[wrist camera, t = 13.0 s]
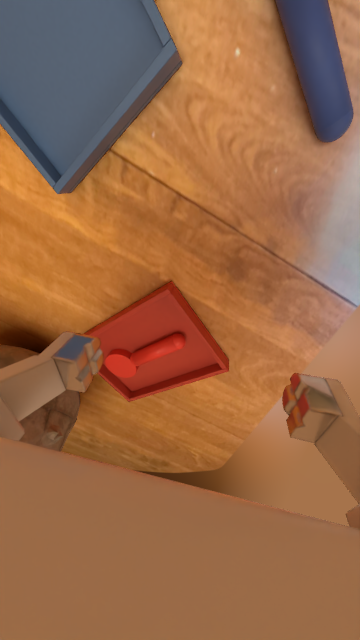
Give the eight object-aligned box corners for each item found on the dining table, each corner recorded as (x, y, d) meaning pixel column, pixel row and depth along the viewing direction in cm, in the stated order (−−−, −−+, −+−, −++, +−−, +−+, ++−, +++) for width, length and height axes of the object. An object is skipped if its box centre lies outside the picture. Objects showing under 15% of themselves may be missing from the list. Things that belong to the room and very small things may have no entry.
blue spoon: (373, 112, 14) (392, 104, 12) (296, 164, 16) (303, 163, 14) (299, -252, 9) (315, -350, 7) (201, -103, 11) (196, -152, 9)
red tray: (228, 360, 28) (229, 371, 27) (133, 391, 36) (128, 402, 35) (171, 280, 23) (167, 288, 22) (76, 338, 32) (67, 347, 30)
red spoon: (174, 319, 26) (171, 329, 24) (195, 346, 27) (193, 357, 26) (102, 354, 32) (95, 364, 30) (123, 375, 34) (118, 385, 32)
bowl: (-36, 343, 38) (-161, 422, 26) (24, 290, 28) (-132, 378, 16) (58, 413, 46) (-3, 498, 34) (128, 392, 37) (79, 499, 24)
